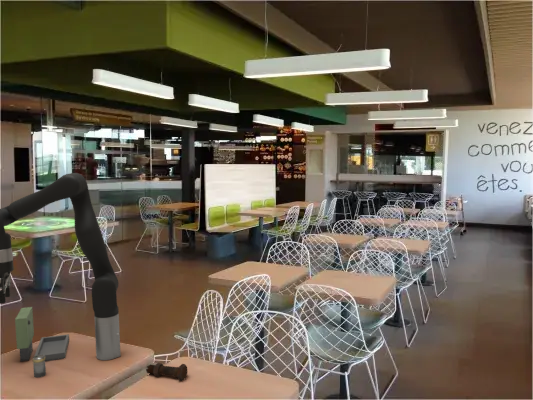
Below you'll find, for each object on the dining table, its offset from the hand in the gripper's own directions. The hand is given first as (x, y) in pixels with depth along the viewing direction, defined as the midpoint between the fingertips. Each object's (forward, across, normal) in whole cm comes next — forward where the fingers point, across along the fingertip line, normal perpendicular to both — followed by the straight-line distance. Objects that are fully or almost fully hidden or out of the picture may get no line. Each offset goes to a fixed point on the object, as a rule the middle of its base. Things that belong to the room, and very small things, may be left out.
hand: (4, 299), depth 183 cm
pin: (+24, -20, -14) cm, 34 cm away
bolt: (+25, -36, -58) cm, 73 cm away
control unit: (+24, 0, -6) cm, 25 cm away
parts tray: (+24, +2, -16) cm, 29 cm away
